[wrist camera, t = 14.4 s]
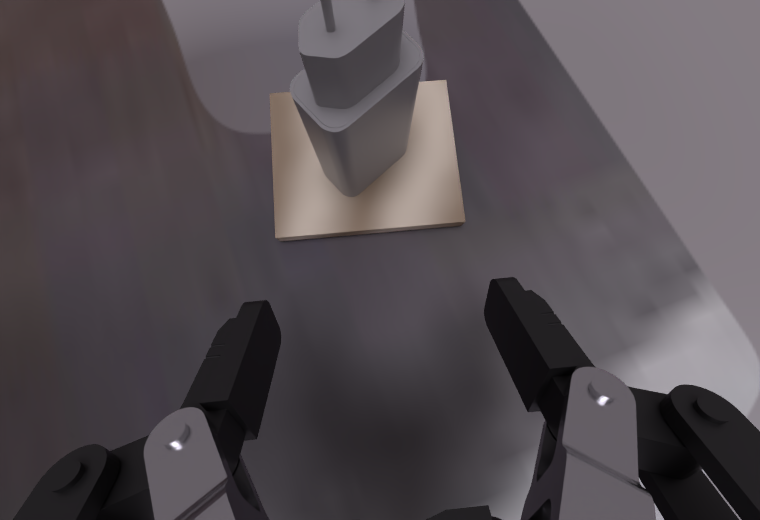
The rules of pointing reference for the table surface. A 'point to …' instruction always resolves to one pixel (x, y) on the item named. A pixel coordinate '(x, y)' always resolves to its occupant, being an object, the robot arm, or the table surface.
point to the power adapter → (356, 87)
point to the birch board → (383, 196)
